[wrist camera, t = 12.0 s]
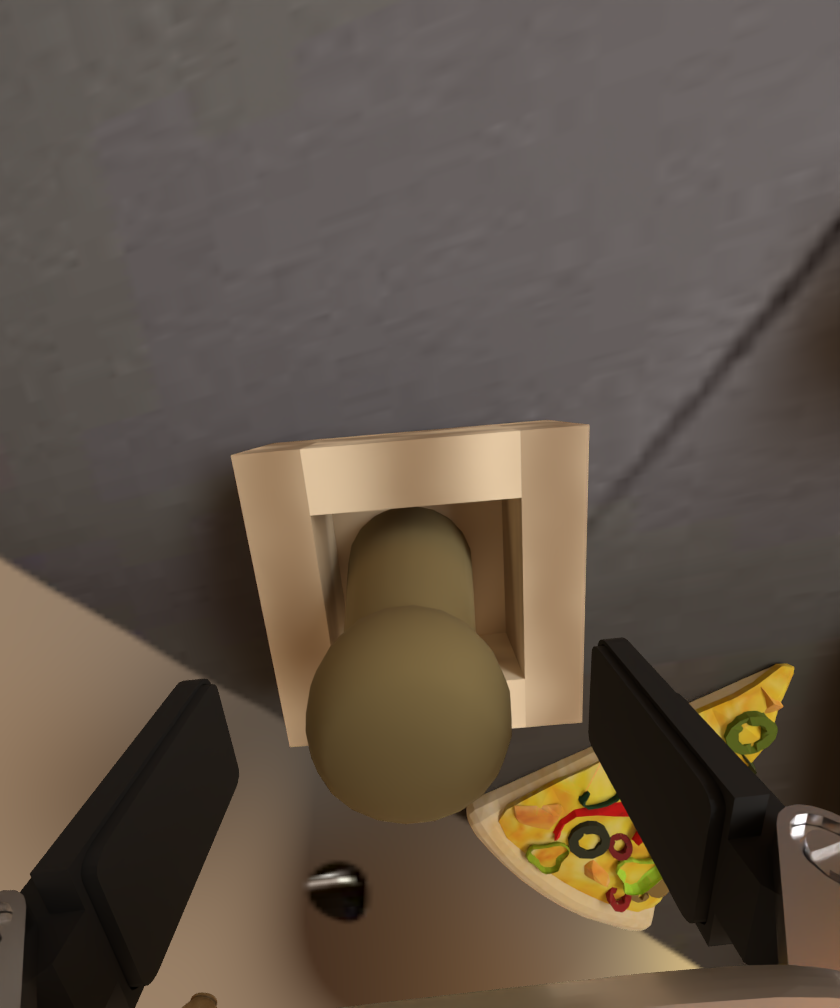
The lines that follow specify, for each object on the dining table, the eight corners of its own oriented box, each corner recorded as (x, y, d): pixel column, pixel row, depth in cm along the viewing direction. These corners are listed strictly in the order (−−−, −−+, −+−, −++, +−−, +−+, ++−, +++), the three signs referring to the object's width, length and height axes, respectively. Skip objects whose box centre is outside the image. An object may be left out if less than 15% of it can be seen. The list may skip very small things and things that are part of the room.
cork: (348, 502, 18) (260, 641, 8) (477, 508, 18) (567, 650, 8) (348, 618, 20) (274, 870, 9) (467, 622, 20) (531, 873, 9)
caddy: (314, 678, 22) (289, 747, 17) (273, 443, 19) (230, 455, 14) (547, 658, 22) (581, 722, 17) (547, 419, 19) (589, 424, 14)
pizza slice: (446, 812, 25) (451, 865, 22) (687, 578, 21) (730, 606, 19) (614, 914, 28) (638, 973, 25) (854, 721, 24) (914, 765, 21)
